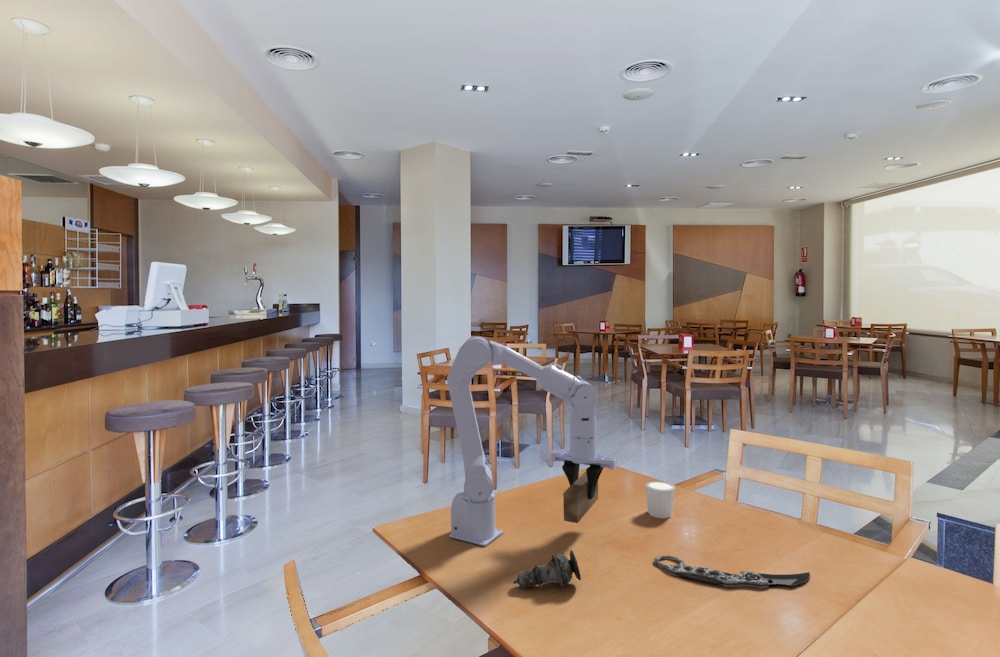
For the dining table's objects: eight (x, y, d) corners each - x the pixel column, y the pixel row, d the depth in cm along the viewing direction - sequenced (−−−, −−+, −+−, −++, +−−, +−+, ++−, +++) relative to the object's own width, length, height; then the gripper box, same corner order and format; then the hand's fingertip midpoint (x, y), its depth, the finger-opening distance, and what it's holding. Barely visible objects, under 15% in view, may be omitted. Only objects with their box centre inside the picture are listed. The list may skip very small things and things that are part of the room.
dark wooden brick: (563, 520, 112) (563, 493, 112) (585, 496, 125) (585, 471, 124) (577, 523, 111) (576, 495, 110) (598, 498, 123) (597, 473, 123)
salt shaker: (581, 587, 97) (518, 606, 96) (571, 557, 102) (510, 574, 101) (581, 573, 93) (514, 591, 92) (570, 542, 98) (507, 559, 97)
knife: (809, 568, 101) (824, 593, 92) (809, 576, 101) (824, 602, 92) (654, 550, 109) (653, 571, 100) (654, 558, 109) (653, 580, 100)
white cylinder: (651, 506, 135) (651, 478, 135) (678, 512, 131) (678, 484, 130) (641, 515, 129) (641, 486, 129) (669, 521, 125) (669, 492, 125)
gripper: (545, 436, 118) (545, 496, 118) (609, 443, 111) (609, 508, 111) (557, 429, 124) (557, 487, 125) (619, 436, 117) (619, 497, 118)
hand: (583, 496), depth 118 cm, fingers closed on dark wooden brick, 3 cm apart
